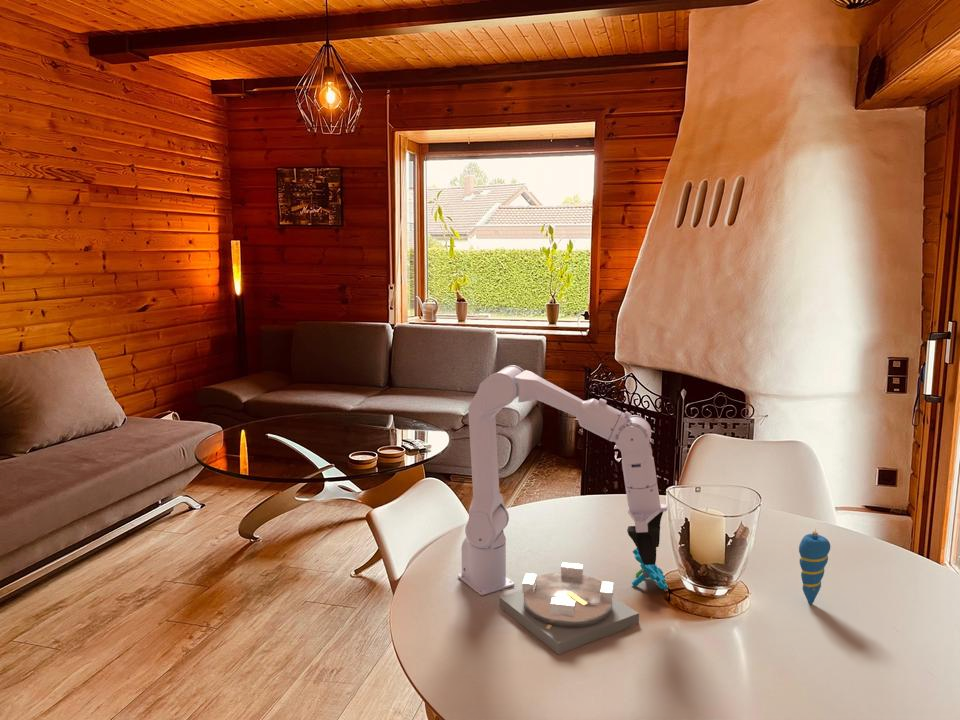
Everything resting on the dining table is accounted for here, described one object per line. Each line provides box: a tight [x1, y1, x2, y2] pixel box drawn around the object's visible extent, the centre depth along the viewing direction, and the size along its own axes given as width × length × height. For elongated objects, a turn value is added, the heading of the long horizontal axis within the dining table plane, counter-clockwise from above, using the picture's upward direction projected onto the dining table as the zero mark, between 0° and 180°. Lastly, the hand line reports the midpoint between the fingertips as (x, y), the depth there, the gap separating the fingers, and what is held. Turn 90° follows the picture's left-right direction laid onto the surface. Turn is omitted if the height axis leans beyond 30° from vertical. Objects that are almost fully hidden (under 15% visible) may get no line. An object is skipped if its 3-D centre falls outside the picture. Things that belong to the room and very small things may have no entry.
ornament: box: [798, 528, 831, 605], centre depth 127 cm, size 5×5×15 cm
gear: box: [631, 547, 668, 591], centre depth 136 cm, size 11×6×10 cm
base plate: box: [498, 589, 640, 655], centre depth 125 cm, size 18×18×2 cm
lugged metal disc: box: [521, 561, 614, 627], centre depth 125 cm, size 16×16×4 cm
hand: (651, 555), depth 126 cm, fingers open, 7 cm apart
